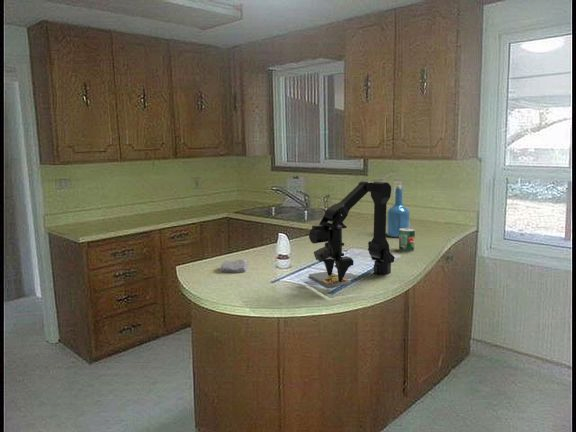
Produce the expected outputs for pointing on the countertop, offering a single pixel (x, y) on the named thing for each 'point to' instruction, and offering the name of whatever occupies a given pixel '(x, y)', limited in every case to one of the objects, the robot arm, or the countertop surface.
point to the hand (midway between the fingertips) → (334, 278)
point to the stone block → (234, 266)
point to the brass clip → (333, 279)
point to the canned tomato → (406, 239)
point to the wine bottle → (397, 215)
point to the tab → (349, 276)
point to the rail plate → (323, 279)
